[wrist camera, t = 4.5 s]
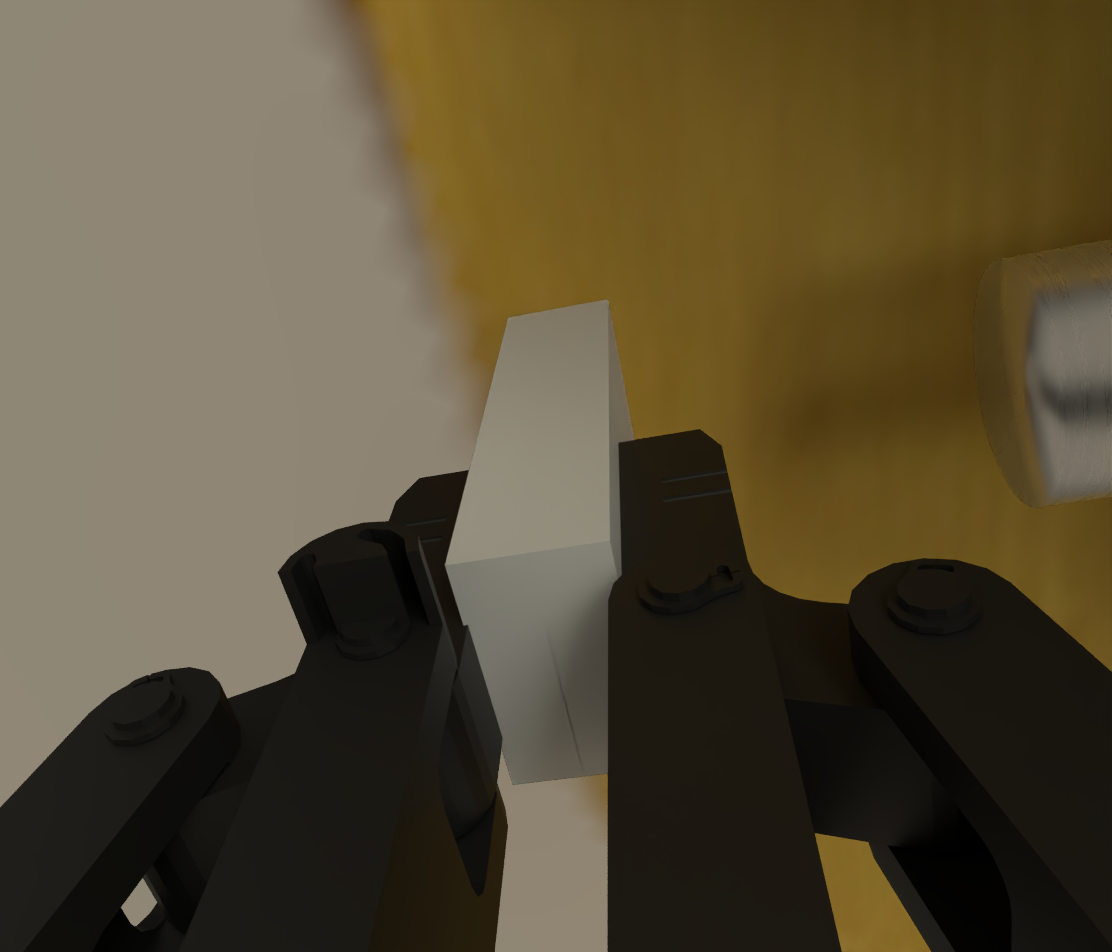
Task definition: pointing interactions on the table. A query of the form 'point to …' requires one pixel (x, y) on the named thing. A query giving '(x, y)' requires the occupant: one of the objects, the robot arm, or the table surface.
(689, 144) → the table surface
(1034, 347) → the axle
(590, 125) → the table surface
